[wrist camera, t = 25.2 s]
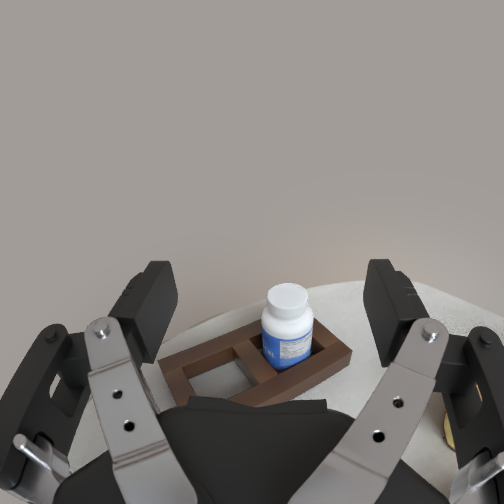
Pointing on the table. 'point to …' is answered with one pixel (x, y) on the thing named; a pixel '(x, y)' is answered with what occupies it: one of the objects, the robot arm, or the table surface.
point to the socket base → (256, 365)
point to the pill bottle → (286, 326)
